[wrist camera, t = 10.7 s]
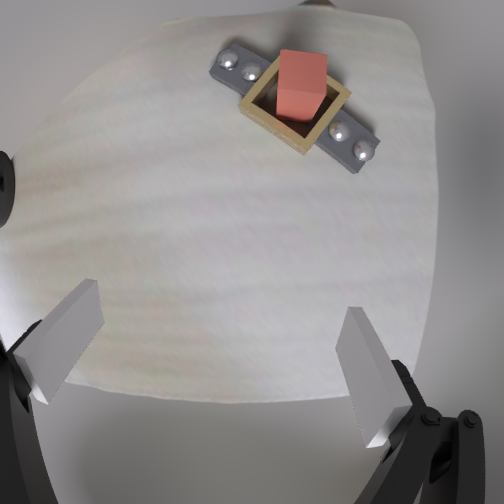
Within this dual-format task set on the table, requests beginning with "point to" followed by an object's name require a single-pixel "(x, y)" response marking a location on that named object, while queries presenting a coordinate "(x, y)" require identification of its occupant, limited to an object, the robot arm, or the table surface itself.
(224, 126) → the table surface
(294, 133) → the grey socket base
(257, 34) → the table surface
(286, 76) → the link pin
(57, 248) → the table surface
